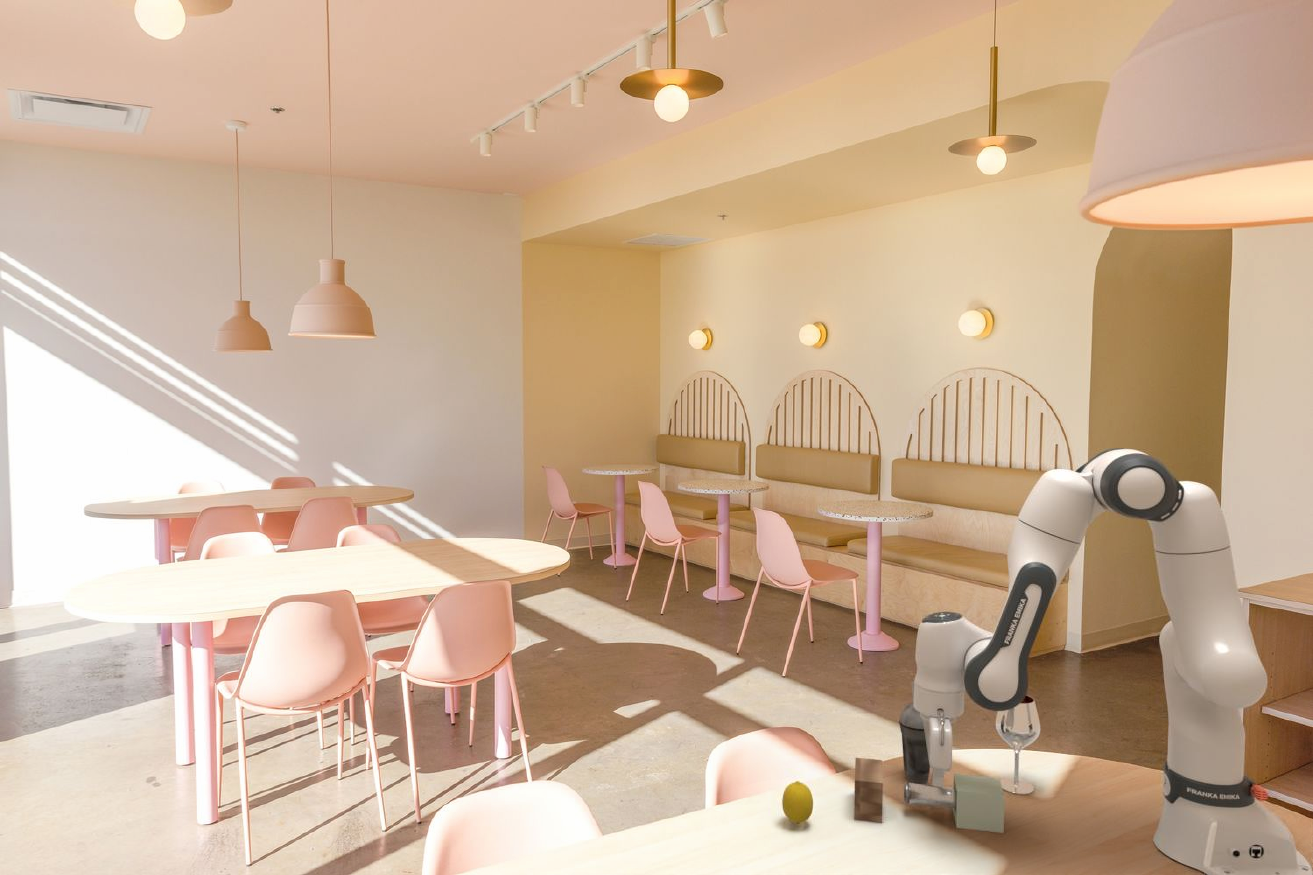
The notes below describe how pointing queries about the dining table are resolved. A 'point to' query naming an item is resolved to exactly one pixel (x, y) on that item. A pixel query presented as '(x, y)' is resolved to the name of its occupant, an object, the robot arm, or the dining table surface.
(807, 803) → the lemon
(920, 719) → the beverage cup
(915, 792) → the tube
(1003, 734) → the wineglass
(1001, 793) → the sage green block
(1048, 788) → the dining table surface
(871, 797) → the socket
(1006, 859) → the dining table surface
